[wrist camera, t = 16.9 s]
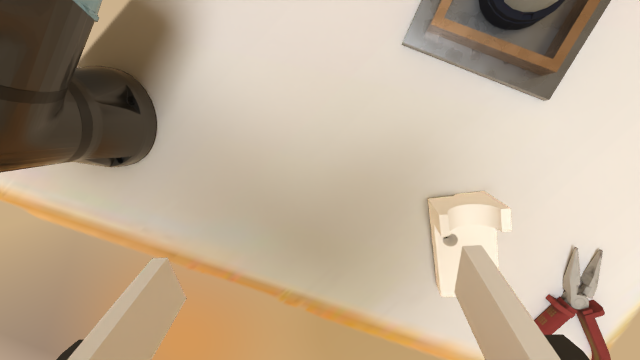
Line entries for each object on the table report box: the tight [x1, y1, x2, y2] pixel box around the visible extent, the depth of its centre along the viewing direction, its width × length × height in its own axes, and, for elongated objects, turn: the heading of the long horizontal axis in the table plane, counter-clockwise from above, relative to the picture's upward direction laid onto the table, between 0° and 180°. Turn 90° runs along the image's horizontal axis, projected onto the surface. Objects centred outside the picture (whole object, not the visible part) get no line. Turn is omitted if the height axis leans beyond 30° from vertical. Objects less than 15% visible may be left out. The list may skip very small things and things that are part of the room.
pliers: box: [534, 247, 611, 360], centre depth 36 cm, size 12×20×3 cm, turn 178°
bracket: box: [428, 191, 512, 297], centre depth 34 cm, size 13×7×8 cm, turn 10°
